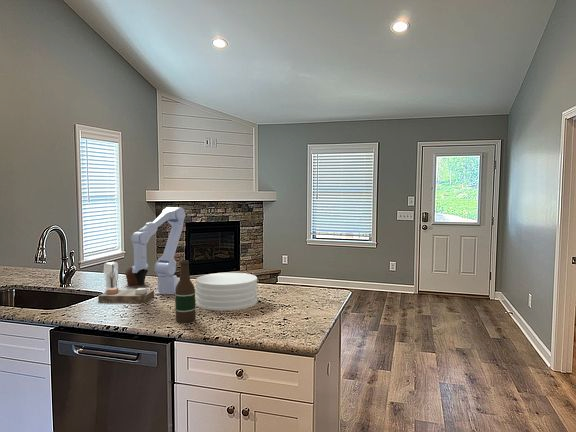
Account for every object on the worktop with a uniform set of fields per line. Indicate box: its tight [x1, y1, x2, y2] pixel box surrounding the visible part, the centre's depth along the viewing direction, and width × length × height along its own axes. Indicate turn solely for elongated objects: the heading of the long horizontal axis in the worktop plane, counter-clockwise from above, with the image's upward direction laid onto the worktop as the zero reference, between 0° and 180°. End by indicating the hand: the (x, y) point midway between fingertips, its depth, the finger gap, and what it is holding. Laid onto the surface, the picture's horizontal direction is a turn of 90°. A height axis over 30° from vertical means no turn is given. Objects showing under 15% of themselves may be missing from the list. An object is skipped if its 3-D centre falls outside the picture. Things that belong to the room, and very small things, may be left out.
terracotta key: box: [105, 287, 119, 294], centre depth 209 cm, size 4×4×3 cm
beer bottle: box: [174, 259, 196, 324], centre depth 173 cm, size 8×8×24 cm
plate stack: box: [195, 272, 258, 312], centre depth 202 cm, size 28×28×12 cm
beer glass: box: [103, 261, 119, 293], centre depth 223 cm, size 7×7×15 cm
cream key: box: [134, 287, 148, 294], centre depth 209 cm, size 4×4×3 cm
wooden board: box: [97, 289, 155, 304], centre depth 209 cm, size 22×12×3 cm, turn 87°
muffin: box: [124, 266, 146, 287], centre depth 242 cm, size 12×11×10 cm
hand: (140, 285), depth 208 cm, fingers closed
